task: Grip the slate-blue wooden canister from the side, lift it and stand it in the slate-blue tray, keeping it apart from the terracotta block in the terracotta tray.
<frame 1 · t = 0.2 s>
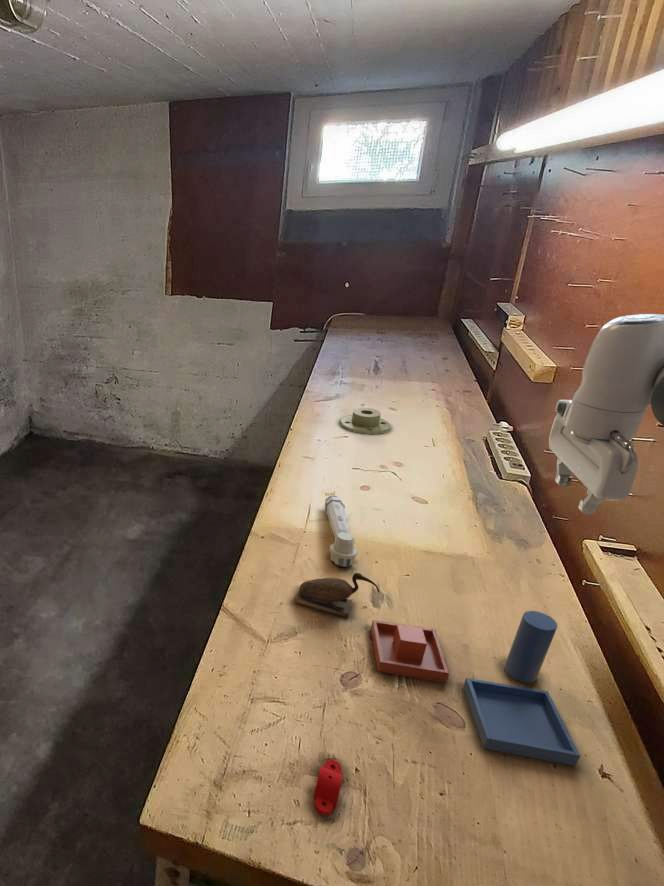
hand: (573, 497, 93), 24 cm above the table, tool pointing down, fingers open, 8 cm apart
terracotta tray: (406, 654, 95), on the table
blue canister: (520, 672, 91), on the table
flange: (364, 426, 186), on the table
light grey long piece: (336, 537, 128), on the table
pipe clamp: (327, 788, 75), on the table
blue tray: (515, 723, 83), on the table
figurine: (334, 607, 107), on the table
terracotta block: (407, 651, 95), point 1 cm above the table, touching terracotta tray
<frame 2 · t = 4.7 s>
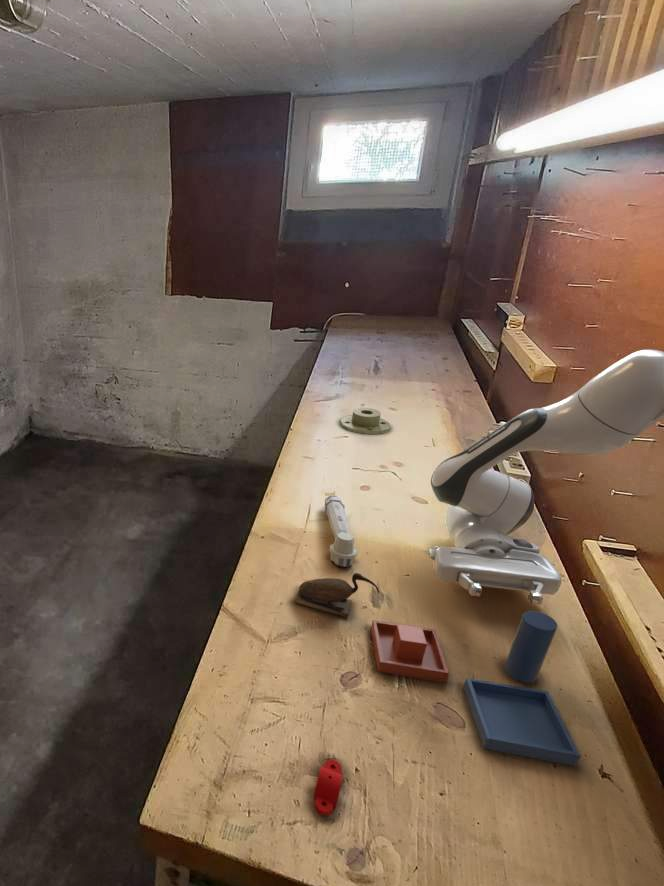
hand: (506, 597, 99), 6 cm above the table, tool horizontal, fingers open, 8 cm apart
nothing on the table moved.
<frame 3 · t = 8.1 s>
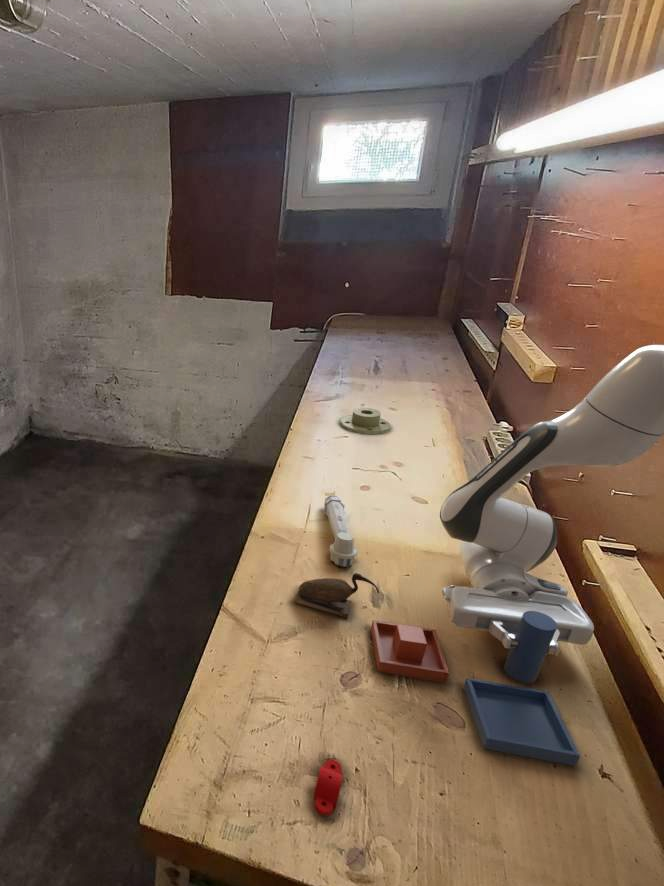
hand: (532, 648, 88), 6 cm above the table, tool horizontal, fingers closed on blue canister, 4 cm apart
blue canister: (519, 672, 91), on the table, touching gripper
everything else where it was.
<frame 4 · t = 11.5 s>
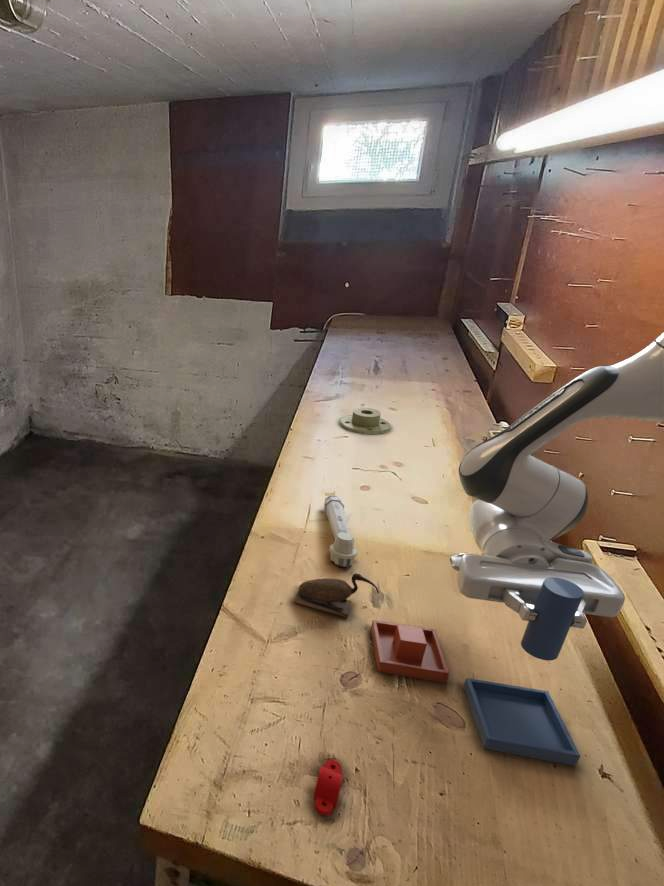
hand: (554, 620, 76), 18 cm above the table, tool horizontal, fingers closed on blue canister, 4 cm apart
blue canister: (539, 649, 80), point 12 cm above the table, touching gripper
everything else where it was.
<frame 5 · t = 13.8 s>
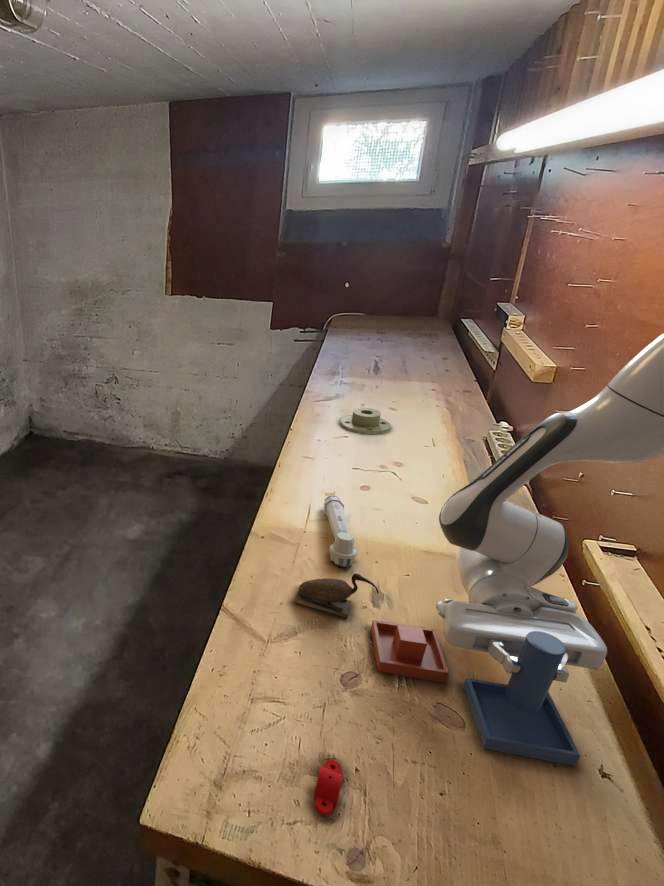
hand: (537, 674, 77), 11 cm above the table, tool horizontal, fingers closed on blue canister, 4 cm apart
blue canister: (522, 699, 81), point 5 cm above the table, touching gripper
everything else where it was.
when the fingers open (7 cm above the table, at t = 15.4 s): blue canister stays where it is, resting on blue tray.
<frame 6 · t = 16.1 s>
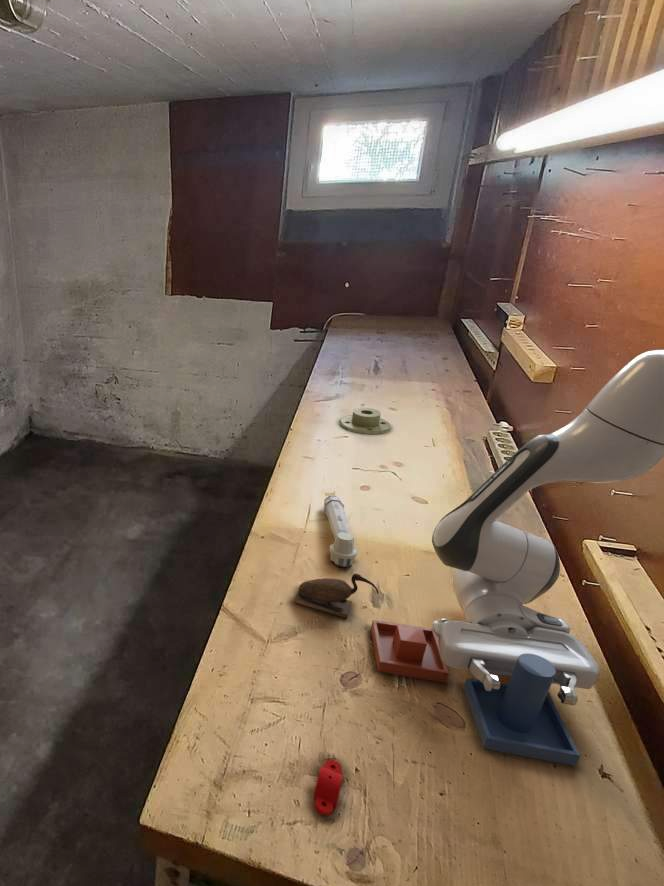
hand: (531, 695, 79), 7 cm above the table, tool horizontal, fingers open, 8 cm apart
blue canister: (514, 720, 82), point 1 cm above the table, touching blue tray
everything else where it was.
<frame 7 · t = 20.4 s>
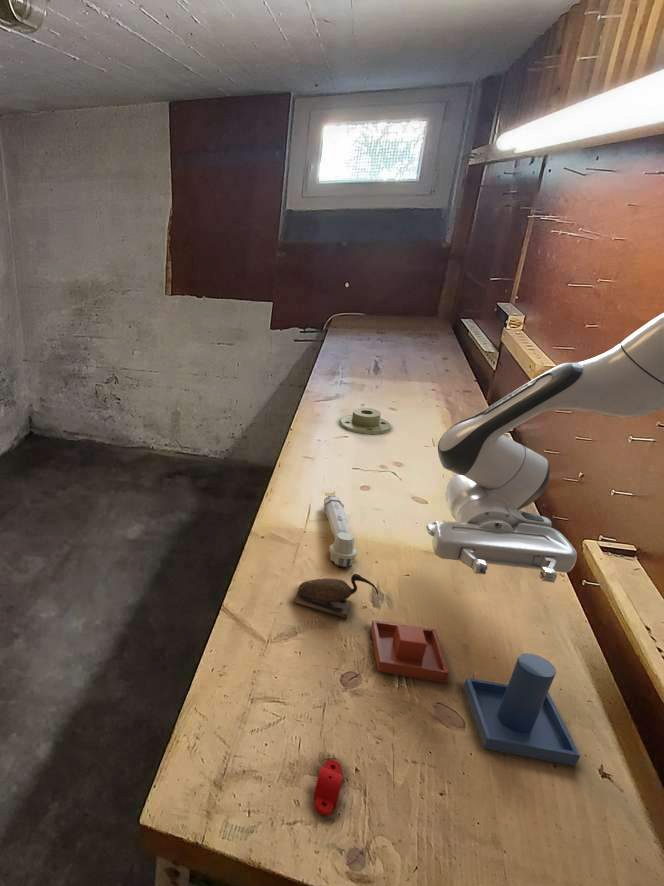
hand: (515, 574, 87), 17 cm above the table, tool horizontal, fingers open, 8 cm apart
nothing on the table moved.
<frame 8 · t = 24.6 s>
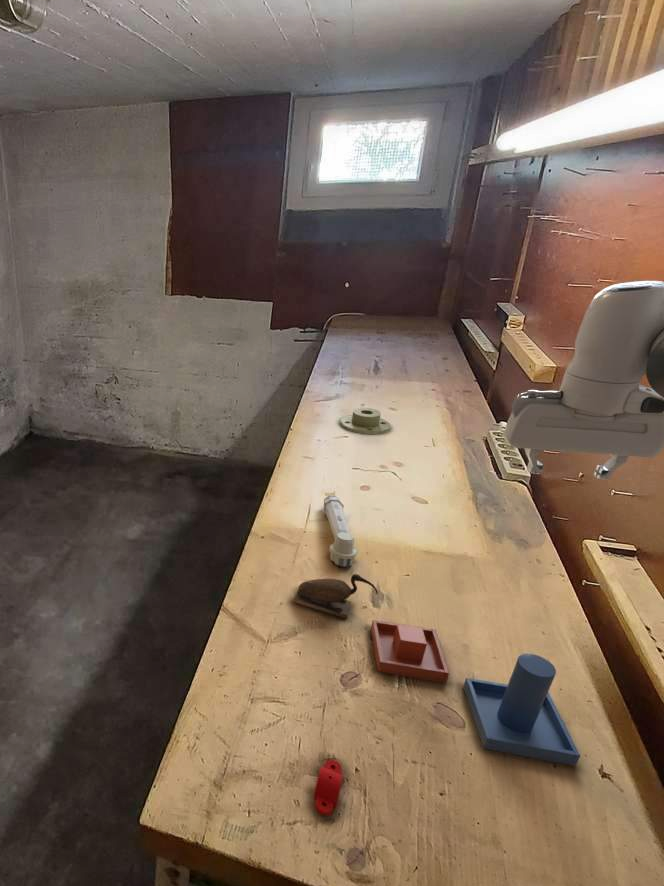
hand: (566, 475, 90), 29 cm above the table, tool pointing down, fingers open, 8 cm apart
nothing on the table moved.
at the end: blue canister 0.2 cm off-centre in the blue tray, point 0.6 cm above the blue tray's base; blue canister tilted 0°; terracotta block moved 0.0 cm from its start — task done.
